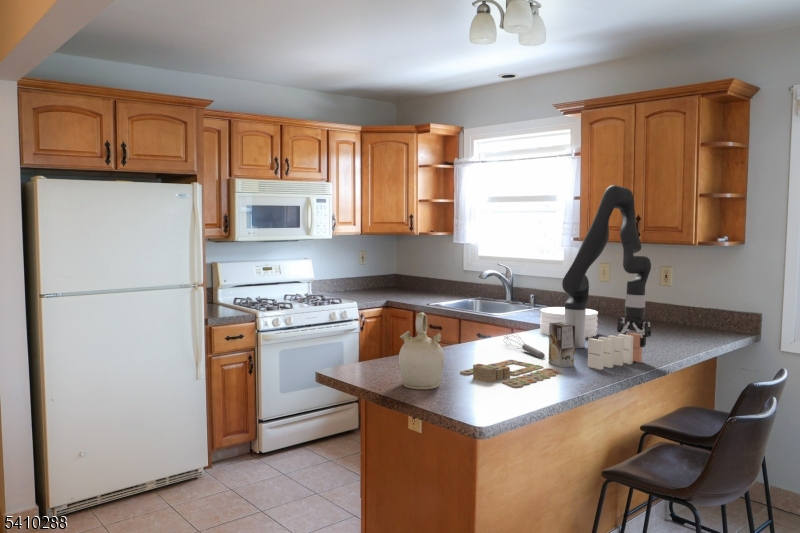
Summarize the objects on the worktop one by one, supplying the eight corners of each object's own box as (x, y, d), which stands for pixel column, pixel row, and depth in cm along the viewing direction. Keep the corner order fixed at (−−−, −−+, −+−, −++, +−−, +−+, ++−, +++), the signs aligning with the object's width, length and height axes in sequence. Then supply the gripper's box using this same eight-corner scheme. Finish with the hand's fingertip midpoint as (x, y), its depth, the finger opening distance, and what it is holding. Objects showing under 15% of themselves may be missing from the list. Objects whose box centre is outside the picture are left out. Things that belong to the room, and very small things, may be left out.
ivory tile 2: (620, 365, 249) (621, 338, 248) (607, 363, 254) (608, 335, 253) (623, 365, 250) (623, 337, 249) (610, 362, 255) (611, 335, 254)
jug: (389, 386, 214) (390, 313, 213) (414, 377, 227) (415, 308, 225) (428, 394, 206) (429, 317, 204) (452, 384, 219) (453, 311, 217)
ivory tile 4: (600, 369, 242) (601, 341, 242) (587, 366, 247) (588, 338, 246) (603, 369, 243) (604, 340, 243) (590, 366, 248) (591, 338, 247)
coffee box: (575, 366, 248) (576, 325, 246) (561, 367, 245) (562, 326, 244) (561, 361, 256) (562, 321, 255) (547, 362, 254) (548, 322, 253)
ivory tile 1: (629, 364, 253) (630, 336, 252) (616, 361, 257) (617, 334, 257) (632, 363, 254) (633, 336, 253) (619, 360, 258) (620, 333, 258)
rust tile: (639, 362, 256) (640, 335, 255) (626, 359, 261) (627, 332, 260) (641, 361, 257) (642, 334, 256) (628, 359, 262) (629, 332, 261)
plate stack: (588, 340, 304) (589, 316, 303) (532, 334, 318) (532, 311, 317) (603, 332, 327) (604, 309, 327) (550, 326, 342) (550, 305, 341)
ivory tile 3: (610, 367, 246) (611, 339, 245) (597, 364, 251) (598, 337, 250) (613, 367, 247) (614, 339, 246) (600, 364, 252) (601, 336, 251)
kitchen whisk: (538, 360, 258) (538, 345, 258) (500, 345, 290) (500, 331, 290) (551, 359, 260) (552, 344, 260) (512, 344, 292) (512, 331, 292)
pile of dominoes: (516, 390, 213) (516, 374, 213) (454, 376, 232) (454, 361, 232) (570, 373, 238) (570, 359, 237) (509, 362, 257) (510, 348, 256)
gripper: (656, 307, 253) (654, 347, 255) (625, 302, 265) (624, 341, 266) (644, 308, 249) (642, 349, 250) (614, 303, 261) (612, 343, 262)
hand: (633, 345), depth 258 cm, fingers open, 8 cm apart
